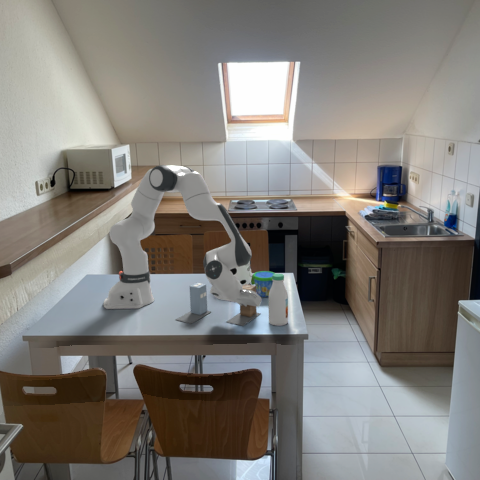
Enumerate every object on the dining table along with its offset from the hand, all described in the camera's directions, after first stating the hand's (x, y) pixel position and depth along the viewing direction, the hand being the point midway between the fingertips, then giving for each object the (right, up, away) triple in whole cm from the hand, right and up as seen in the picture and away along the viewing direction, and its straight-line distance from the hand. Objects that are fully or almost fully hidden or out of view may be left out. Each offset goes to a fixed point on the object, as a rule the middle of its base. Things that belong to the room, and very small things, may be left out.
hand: (244, 304), depth 194 cm
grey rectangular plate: (0, -6, +1) cm, 6 cm away
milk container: (-4, +4, +42) cm, 43 cm away
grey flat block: (-21, -6, +4) cm, 22 cm away
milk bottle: (+14, -7, -4) cm, 16 cm away
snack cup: (+10, 0, +27) cm, 29 cm away
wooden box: (+2, -5, +4) cm, 7 cm away
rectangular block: (-19, -5, +7) cm, 21 cm away
